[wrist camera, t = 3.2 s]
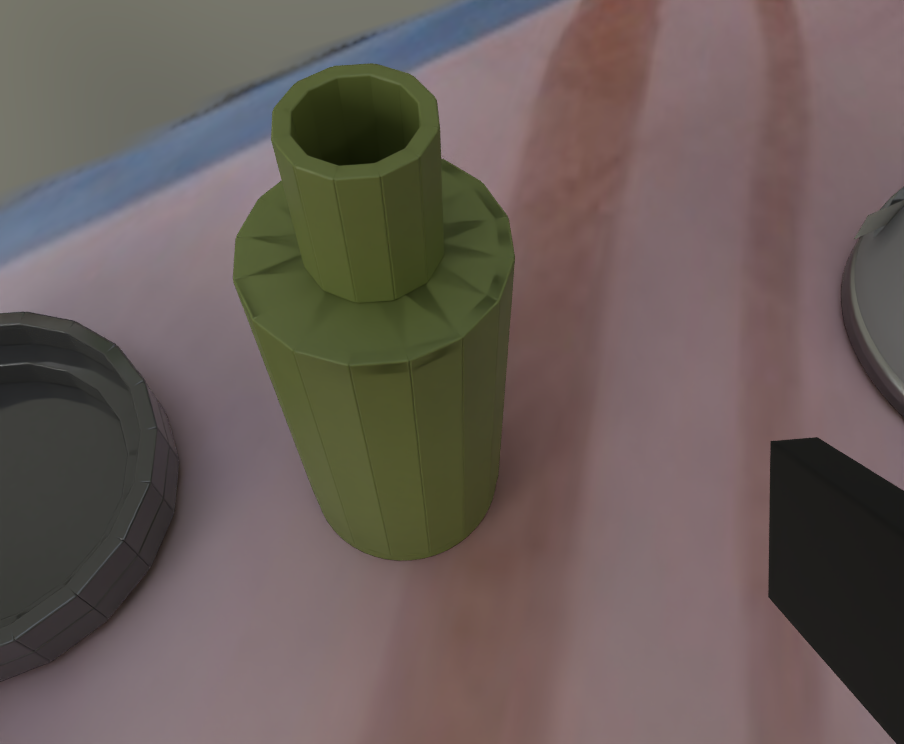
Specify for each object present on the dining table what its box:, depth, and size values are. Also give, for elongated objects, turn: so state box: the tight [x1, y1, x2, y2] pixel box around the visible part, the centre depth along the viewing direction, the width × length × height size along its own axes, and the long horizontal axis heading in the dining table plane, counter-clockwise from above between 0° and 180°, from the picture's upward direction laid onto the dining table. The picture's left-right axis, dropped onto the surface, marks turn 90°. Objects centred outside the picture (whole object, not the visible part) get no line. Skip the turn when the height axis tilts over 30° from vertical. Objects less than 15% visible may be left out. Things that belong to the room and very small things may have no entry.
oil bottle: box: [233, 64, 515, 560], centre depth 24 cm, size 7×7×17 cm
